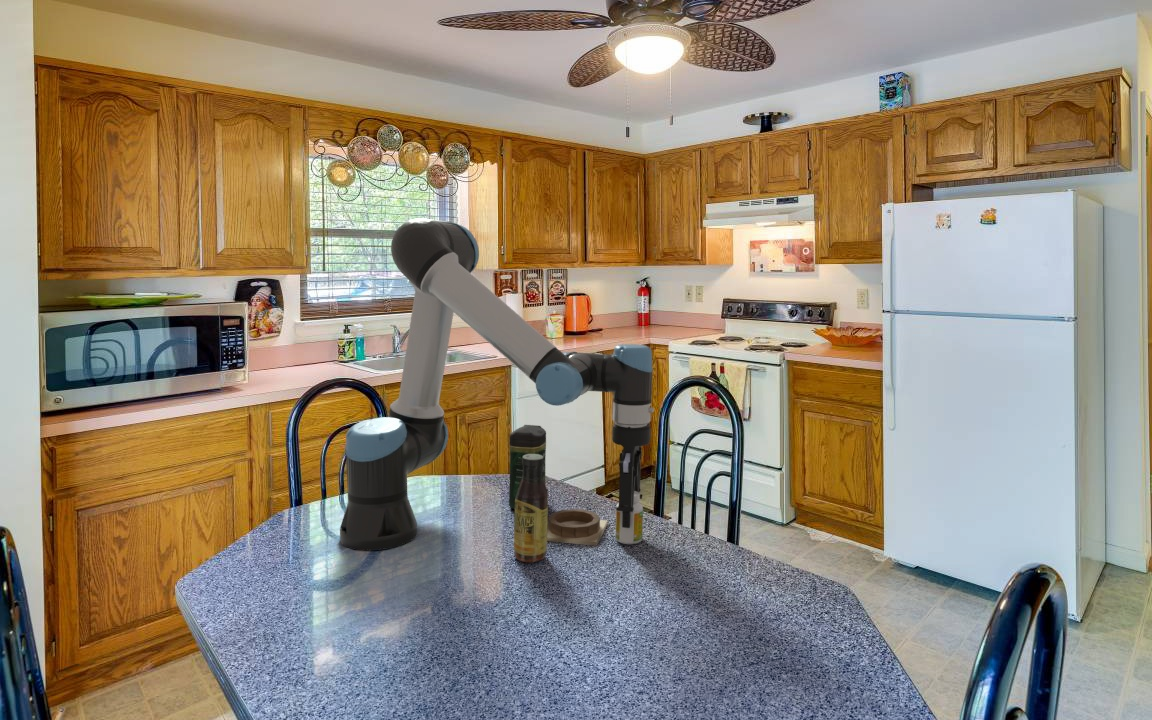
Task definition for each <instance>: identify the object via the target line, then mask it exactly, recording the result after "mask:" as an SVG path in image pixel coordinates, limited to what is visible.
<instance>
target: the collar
mask: <svg viewBox="0 0 1152 720" xmlns="http://www.w3.org/2000/svg"><path fill="white" fill-rule="evenodd" d="M608 522H609V521H608V520H607V519H606V520H605V519H601V517H600V516H599V515H598V513H596V512H594V511H589V510H586V509H578V508H569V509H568V508H567V509H561V510H558V511H555V512H552V513H551V514H550V515H549V516H548V520H547V542H556V543H564V544H565V543H566V544H574V545H583V546H584V545H586V546H597V545H598V544H599V542H600V540H601V539H602V538H601V537H602V536H603V534H604V532H605V531H606V528H607V526H608V525H609V524H608Z"/></svg>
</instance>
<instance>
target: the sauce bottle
mask: <svg viewBox="0 0 1152 720" xmlns="http://www.w3.org/2000/svg"><path fill="white" fill-rule="evenodd" d="M543 464H544V457H543V456H542V455H539V454H526V455H524V456H523V457H522V465H523V476H522V480H521V483H520V486H519V489H518V492H517V495H516V498H515V509H514V523H513V525H514V527H513V554H514V557H515V559H516V560H518V561H519V562H524V563H527V564H529V563H530V564H532V563H536V562H540V561H542V560H543V559H545V557H546V554H547V548H548V547H547V545H548V544H547V543H548V541H547V524H548V518H549V516H548V515H549V502H548V499H549V492H548V488H547V487H546V486H545V485H544V483H543V479H542V478H543V476H542V468H543Z"/></svg>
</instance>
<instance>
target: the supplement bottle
mask: <svg viewBox="0 0 1152 720" xmlns="http://www.w3.org/2000/svg"><path fill="white" fill-rule="evenodd" d="M640 494H641V492H640V493H639V492H637V491H634V502H633V508H634V541H633V543H627V542H619V535H620V511H616V510H615V532H614V533H615V536H614V537H615V540H616V541H617V542H618V543H621V544H625V545H636V544H639V543H641V542H642V540H643V522H644V520H643V519H644V518H643V516H644V506H643V504H642V503H641V502H640V500H641V499H640ZM618 506H619V502H618V503H617V504H616V505H615V508H616V507H618Z"/></svg>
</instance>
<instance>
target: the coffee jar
mask: <svg viewBox="0 0 1152 720" xmlns="http://www.w3.org/2000/svg"><path fill="white" fill-rule="evenodd" d="M508 441H509V442H508V443H509V445H508V446H509V486H508V488H509V491H508V506H509V508H510V509H514V510H515V498H516V495H517V492H518V489H519V486H520V483H521V480H522V476H523V465H522V457H523V456H524V455H526V454H539V455H542V456H543V457H544V464H543V468H542V476H543V478H542V479H543V483H544V485H545V486H546V453H547V450H546V449H547V431H546V429H544V428H543V427H542V426H541V425H534V424H524V425H523V426H521V427H519V428H516V429H515V430H513V431H512V432H511V433H510V434H509V440H508Z"/></svg>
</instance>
